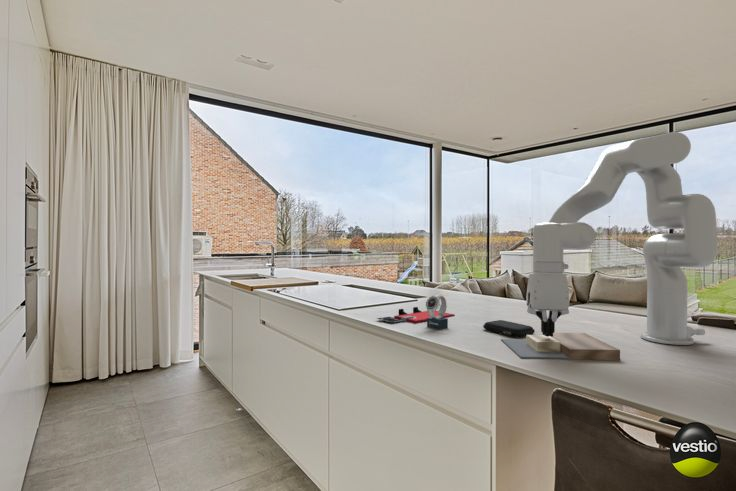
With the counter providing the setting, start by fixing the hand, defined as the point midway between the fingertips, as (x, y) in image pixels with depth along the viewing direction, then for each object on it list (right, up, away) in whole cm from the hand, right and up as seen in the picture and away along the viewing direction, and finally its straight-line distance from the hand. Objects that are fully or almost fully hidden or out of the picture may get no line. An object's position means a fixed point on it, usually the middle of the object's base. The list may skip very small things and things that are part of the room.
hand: (547, 335), depth 106 cm
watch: (-25, -4, +28) cm, 38 cm away
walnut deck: (+8, -4, -1) cm, 9 cm away
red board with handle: (-31, -4, +45) cm, 54 cm away
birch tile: (-1, -3, 0) cm, 4 cm away
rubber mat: (-4, -4, 0) cm, 6 cm away
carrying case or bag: (-4, -4, +20) cm, 21 cm away
